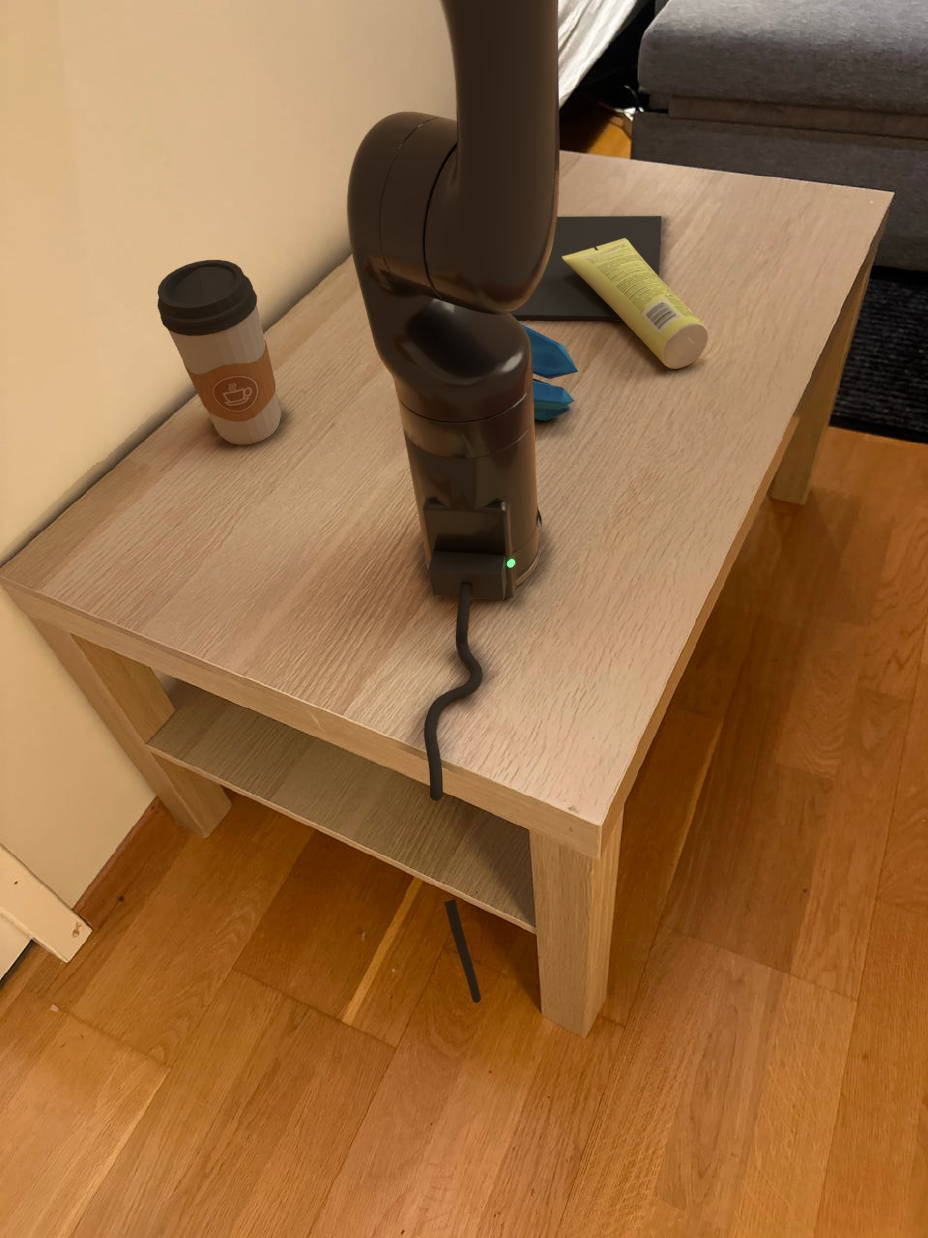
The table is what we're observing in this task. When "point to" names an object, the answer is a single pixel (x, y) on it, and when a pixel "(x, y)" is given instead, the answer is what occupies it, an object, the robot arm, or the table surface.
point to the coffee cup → (222, 347)
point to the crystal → (549, 375)
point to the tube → (642, 301)
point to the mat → (564, 287)
